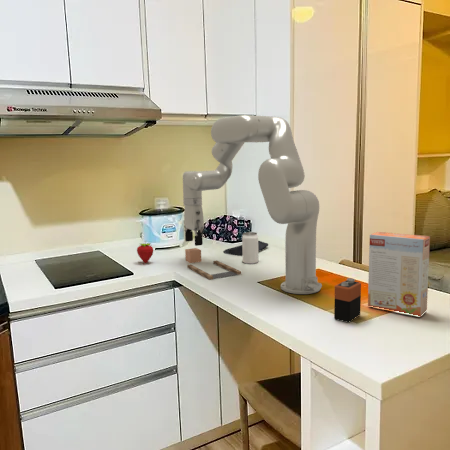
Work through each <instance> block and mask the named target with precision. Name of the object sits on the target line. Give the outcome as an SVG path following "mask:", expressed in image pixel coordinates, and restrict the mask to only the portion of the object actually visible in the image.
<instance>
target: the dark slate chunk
mask: <svg viewBox="0 0 450 450" xmlns="http://www.w3.org/2000/svg"><path fill="white" fill-rule="evenodd" d="M268 246H269V243H267V242H264V241H261V240H258V253H259V252H262V251H263V250H265V249H266V248H267V247H268ZM222 252H223V254H226V255H231V256H237V257H243V253H242V244H241V245H238V246H233V247H230V248H227V249H224V250H223V251H222Z"/></svg>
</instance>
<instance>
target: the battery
mask: <svg viewBox="0 0 450 450" xmlns="http://www.w3.org/2000/svg"><path fill="white" fill-rule="evenodd" d="M361 295H362V283H361V282H359V281H356V279H355V278H353V277H349V278H346V280H345V281H342V282H340V283H337V284H335V285H334V305H333V306H334V313H333V315H334V317H333V318H334V319H335V320H337V319H339V320H338V321H340V320H343V321H342V322H344V321H347V322H346V323H350V322H352V321H353V320H355V319H356V318H355V317H357V316H358V315H360V316H361V304H362V302H361V299H362V298H361V297H362V296H361ZM358 317H359V316H358ZM358 317H357V318H358ZM354 318H355V319H354ZM352 319H353V320H352ZM351 320H352V321H351ZM349 321H350V322H349Z"/></svg>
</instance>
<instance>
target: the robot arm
mask: <svg viewBox="0 0 450 450" xmlns="http://www.w3.org/2000/svg"><path fill="white" fill-rule="evenodd" d="M210 135H211V139H212V140H213V141H214V142H215V144H214V145H213V146H212V147H211V154H212V157H213V158H214V159H215V160H216V161H217V162H218V163H219V164H218V166H217V167H216V169H214V170H203V171H202V170H201V171H196V170H195V171H193V170H192V171H191V170H190V171H184V172H183V173H182V198H183V206H184V214H183V217H184V220H183V223H184V225H183V227H184V233H185V234H184V235H185V236H184V237H185V238H184V239H185V242H193V241H194V246H196V247H197V246H203V235H204V229H205V224H204V223H205V221H204V220H205V219H204V211H203V207H202V206H203V201H202V200H203V197H202V196H203V194H202V193H203V192H202V191H214V190H219V189H221V188H223V186H224V185H226V183H227V182H228V180H229V179H230V178H231V175H232V174H233V162H232V161H233V160H234V158H235V157H236V156H237V154H238V153H239V152H240V150H241V148H242V147H243V146H244V144H245V143H268V153H269V156H270V158H267V159H265V160H264V161H263V162H262V163H261V164H260V166H259V168H258V176H257V178H258V180H257V181H258V184H259V187H260V190H261V193H262V196H263V199H264V202H265V206H266V209H267V212H268V214H269V216H270V218H271V219H272V220H273V221H274V222H275V223H277V224H280V225H286V224H287V226H286V229H285V240H284V241H285V242H284V243H285V244H284V245H285V249H284V250H285V251H284V252H285V255H284V257H285V258H284V259H285V281H283V282H282V283H281V284H280V289H281V290H282V291H284V292H286V293H289V294H294V295H309V294H315V293H318V292H319V291H320V290H321V288H322V287H323V285H322V283H321V282H319V281H318V276H317V275H316V274H317V272H316V269H317V266H316V265H317V264H316V263H317V226H318V218H319V215H320V214H319V213H320V201H319V199H318V196H317V195H316V194H315V193H314V192H312V191H310V190H307V189H299V190H291V191H290V189H294V188H297V187H299V186H301V185H302V184H303V183H304V181H305V172H304V167H303V164H302V162H301V158H300V155H299V152H298V149H297V147H296V144H295V141H294V136H293V132H292V129H291V126H290V124H289V122H288V121H287V120H286V119H284V118H282V117H279V116H266V115H252V114H251V115H250V114H241V115H236V116H227V117H220V118H218V119H216V120H215V121H214V122H213V124H212V126H211V129H210ZM193 232H194V233H193Z"/></svg>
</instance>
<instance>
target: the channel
mask: <svg viewBox="0 0 450 450" xmlns="http://www.w3.org/2000/svg"><path fill="white" fill-rule="evenodd" d="M213 265H215V266H218V267H219V268H221V269H224V270H226V271H225V272H218V273H211V274H210V273H208V272H206V271H204V270H202V269H200V268H199V267H196V266H194V265H193V264H192V263H189V264H187V265H186V268H187V269H189V270H190V271H191V272H194V273H196V274H198V275H199V276H200V277H201V276H202V277H203V278H205V279H207V280H209V281H212V280H217V279H223V278H230V277H235V276H240V275H242V270H239V269H237V268H235V267H232V266H230V265H228V264H226V263H223V262H221V261H219V260H213Z"/></svg>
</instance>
